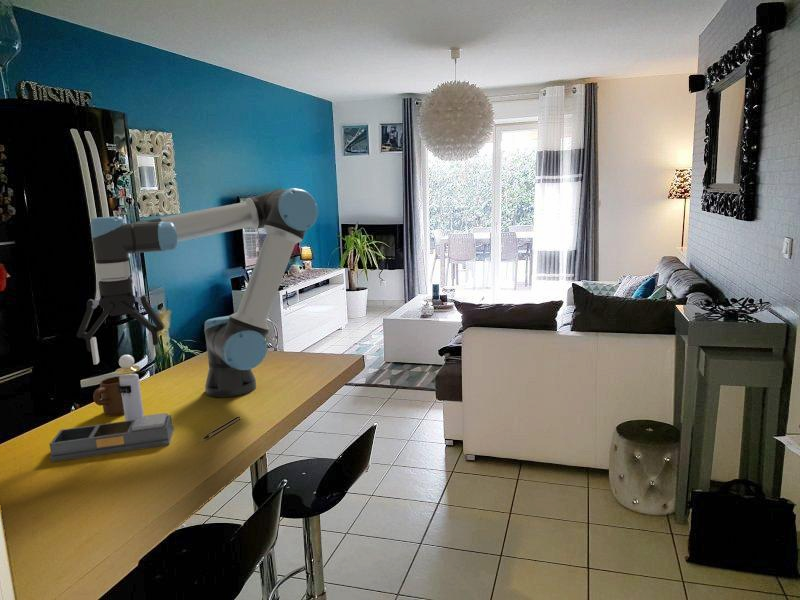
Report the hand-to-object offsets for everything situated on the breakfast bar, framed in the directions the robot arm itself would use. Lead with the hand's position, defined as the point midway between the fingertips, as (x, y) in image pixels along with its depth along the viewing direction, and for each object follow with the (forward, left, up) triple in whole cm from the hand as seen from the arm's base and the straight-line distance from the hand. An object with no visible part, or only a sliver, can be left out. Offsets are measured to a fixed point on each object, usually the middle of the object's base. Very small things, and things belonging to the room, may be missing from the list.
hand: (125, 360), depth 150 cm
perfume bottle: (0, 0, -19) cm, 19 cm away
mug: (+8, -13, -19) cm, 24 cm away
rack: (+3, +10, -19) cm, 21 cm away
